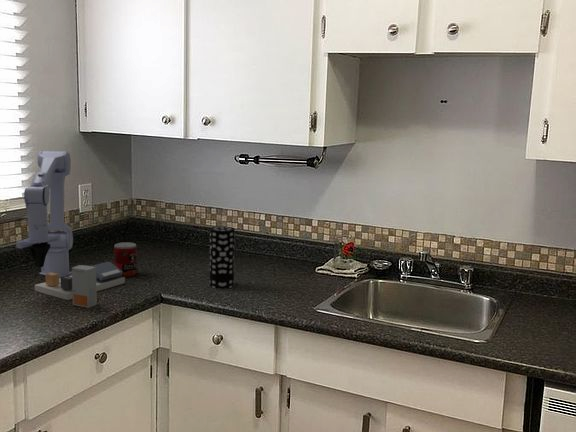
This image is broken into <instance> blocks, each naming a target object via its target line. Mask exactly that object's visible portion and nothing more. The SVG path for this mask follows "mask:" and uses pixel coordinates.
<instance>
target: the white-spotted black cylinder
mask: <svg viewBox="0 0 576 432" xmlns="http://www.w3.org/2000/svg"><path fill="white" fill-rule="evenodd" d="M234 276H235V228H234V227H231V226H222V225H221V226H212V227H210V228H209V287H210V288H213V289H217V290H225V289H231V288H233V287H234V285H235V283H234V282H235V281H234V280H235V277H234Z"/></svg>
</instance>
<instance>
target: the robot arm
mask: <svg viewBox="0 0 576 432" xmlns="http://www.w3.org/2000/svg"><path fill="white" fill-rule="evenodd" d="M71 162H72V160H71V155H70V152H69V151H67V150H65V151H64V150H63V151H61V150H60V151H57V150H55V151H53V150H50V151H49V150H39V152H38V154H37V165H38V167H39V172H37V173H35V175H34V177H33V179H32V181H31V183H30V186H27V187H26V188H25V189H24V191H23V192H24V193H23V200H24V204H25V210H26V211H27V228H28V229H27V231H28V238H25V239H21V240H18V241H15V246H16V247H15V248H16V249H23V248H27V249H28V251H29V252H30V255H31V256H32V258H33V262H34V263H35V264H34V265H35V267H36V268H40V269H41V272H39V275H42V276H45V274H47V273H51V272H53V273H57V274H59V278H62V277H66V276H71V275H72V270H71V271H70V260H69V257H70V256H69V250H71V249H72V248H73V244H74V236H73V229H72V227H71V226H69V225H68V224H67V223H65V181H66V180H65V179H66V177H67V176H69V175H70V174H71ZM48 205H49V217H48ZM48 218H49V221H48Z"/></svg>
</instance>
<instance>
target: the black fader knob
mask: <svg viewBox="0 0 576 432" xmlns="http://www.w3.org/2000/svg"><path fill="white" fill-rule="evenodd" d="M69 276H70V275H68V276H64V277H60V278H61V289H65V290H71V289H72V277H69Z"/></svg>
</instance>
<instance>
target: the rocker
mask: <svg viewBox="0 0 576 432" xmlns="http://www.w3.org/2000/svg"><path fill="white" fill-rule="evenodd" d="M91 266H92V267H96V277H97V278H98V279H100V280H101V281H103V280H107V279H110V278H114V277H117V276H121V275H122V273H123V272H122V271H121V270H120V269H119V268H117V267H116V266H115V263H114V264H113V263H112V262H111V261H106V262H101V263H97V264H93V265H91Z"/></svg>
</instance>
